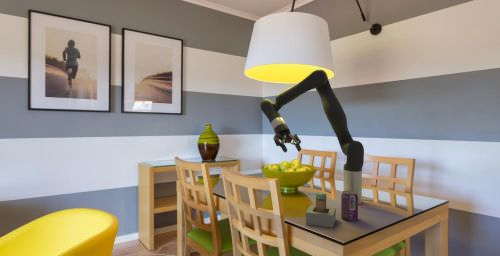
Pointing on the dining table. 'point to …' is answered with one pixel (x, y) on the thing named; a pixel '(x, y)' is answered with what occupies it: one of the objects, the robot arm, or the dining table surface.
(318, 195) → the green capped wooden peg
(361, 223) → the dining table surface
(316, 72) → the robot arm
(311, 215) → the socket block
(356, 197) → the beverage can
